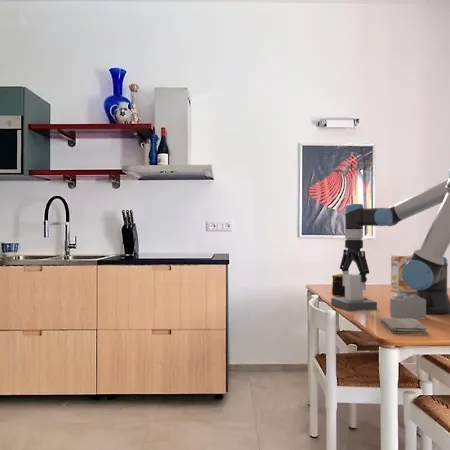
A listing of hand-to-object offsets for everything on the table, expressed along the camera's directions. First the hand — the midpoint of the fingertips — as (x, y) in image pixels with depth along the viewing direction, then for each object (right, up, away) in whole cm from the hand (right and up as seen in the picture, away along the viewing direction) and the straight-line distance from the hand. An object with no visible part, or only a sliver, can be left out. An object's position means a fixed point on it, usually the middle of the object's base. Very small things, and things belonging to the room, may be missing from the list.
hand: (353, 287), depth 197 cm
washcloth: (+5, -9, -41) cm, 42 cm away
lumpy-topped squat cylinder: (+16, -9, -20) cm, 27 cm away
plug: (+1, -8, 0) cm, 8 cm away
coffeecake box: (+42, -9, +46) cm, 63 cm away
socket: (0, -8, 0) cm, 8 cm away
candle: (+5, -9, +35) cm, 36 cm away
